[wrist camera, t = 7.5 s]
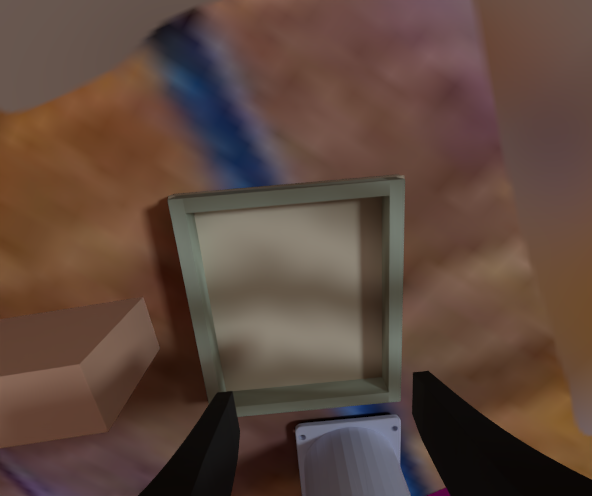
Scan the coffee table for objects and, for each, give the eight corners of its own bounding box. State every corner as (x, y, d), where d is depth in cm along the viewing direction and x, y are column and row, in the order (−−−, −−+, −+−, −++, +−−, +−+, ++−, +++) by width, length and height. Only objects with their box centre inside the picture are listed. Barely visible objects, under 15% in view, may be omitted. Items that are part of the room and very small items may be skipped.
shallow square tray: (395, 375, 24) (407, 400, 21) (212, 392, 24) (204, 419, 21) (398, 174, 19) (414, 178, 17) (173, 194, 19) (157, 200, 17)
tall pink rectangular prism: (160, 347, 22) (108, 431, 16) (20, 369, 23) (-90, 462, 16) (143, 296, 21) (79, 364, 15) (-4, 319, 21) (-134, 397, 15)
